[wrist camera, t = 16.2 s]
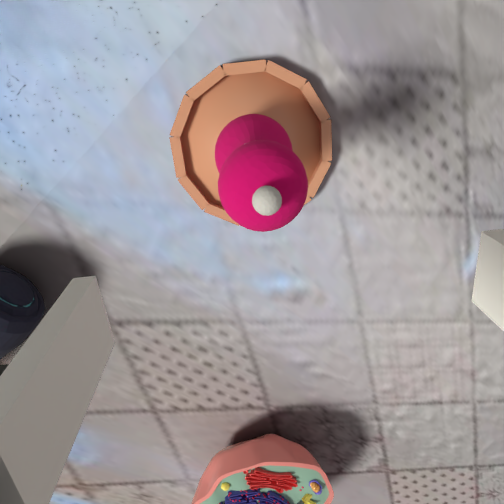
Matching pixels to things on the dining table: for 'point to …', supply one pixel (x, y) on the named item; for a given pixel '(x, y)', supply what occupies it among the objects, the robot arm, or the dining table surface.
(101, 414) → the dining table surface
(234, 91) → the terracotta saucer
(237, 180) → the pepper mill
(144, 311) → the dining table surface
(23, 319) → the portable speaker
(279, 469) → the cell model
